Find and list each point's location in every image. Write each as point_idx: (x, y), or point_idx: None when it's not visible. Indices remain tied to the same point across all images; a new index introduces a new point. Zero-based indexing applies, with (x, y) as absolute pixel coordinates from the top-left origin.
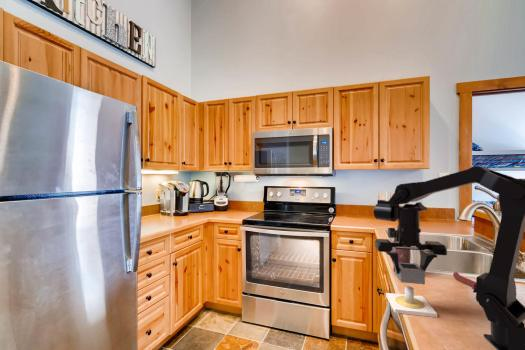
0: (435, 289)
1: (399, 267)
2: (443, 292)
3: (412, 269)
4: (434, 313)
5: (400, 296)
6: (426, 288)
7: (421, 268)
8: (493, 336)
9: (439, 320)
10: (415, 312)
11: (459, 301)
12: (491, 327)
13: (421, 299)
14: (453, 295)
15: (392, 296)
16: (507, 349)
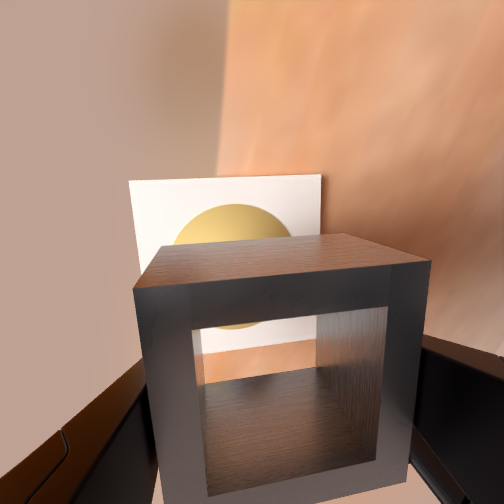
0: (431, 14)
1: (162, 488)
2: (450, 54)
3: (298, 495)
4: (308, 338)
5: (205, 215)
6: (390, 7)
7: (405, 426)
8: (412, 451)
9: (311, 350)
10: (238, 346)
11: (464, 154)
12: (430, 463)
13: (303, 217)
14: (475, 86)
15: (162, 222)
16: (411, 464)
